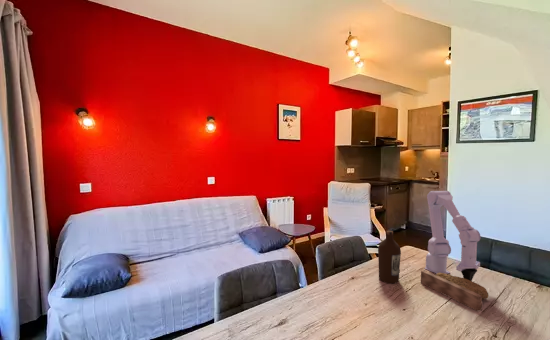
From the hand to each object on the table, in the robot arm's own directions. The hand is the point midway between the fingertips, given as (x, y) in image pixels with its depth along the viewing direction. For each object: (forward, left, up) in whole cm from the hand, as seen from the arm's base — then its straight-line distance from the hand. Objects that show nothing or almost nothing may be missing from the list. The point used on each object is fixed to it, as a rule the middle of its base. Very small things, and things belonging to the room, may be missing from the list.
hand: (467, 282), depth 126 cm
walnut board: (0, -14, -3) cm, 14 cm away
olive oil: (-22, -27, -3) cm, 35 cm away
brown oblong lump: (0, -6, -3) cm, 7 cm away
